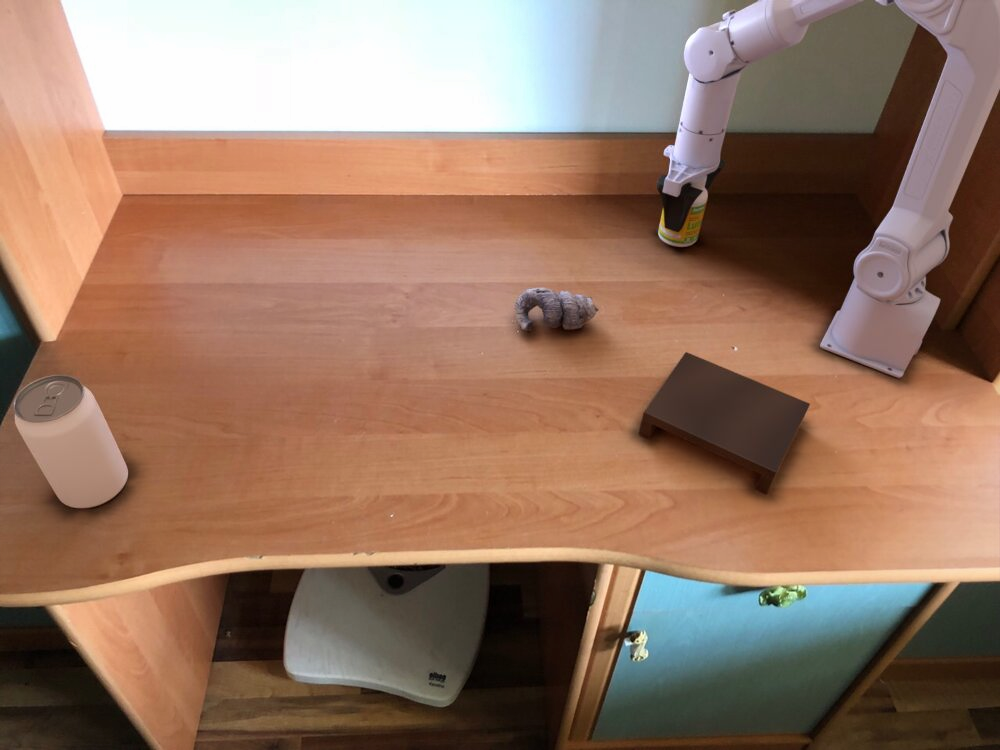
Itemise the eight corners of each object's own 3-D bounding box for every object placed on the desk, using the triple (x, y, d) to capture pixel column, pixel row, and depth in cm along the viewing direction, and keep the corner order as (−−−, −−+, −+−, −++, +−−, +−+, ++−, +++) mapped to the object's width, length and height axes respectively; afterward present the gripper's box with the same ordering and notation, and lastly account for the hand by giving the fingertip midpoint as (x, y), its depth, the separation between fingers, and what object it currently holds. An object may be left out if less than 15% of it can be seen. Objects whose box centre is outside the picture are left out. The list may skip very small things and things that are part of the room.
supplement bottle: (685, 253, 106) (700, 189, 99) (650, 238, 108) (663, 174, 102) (703, 235, 109) (720, 172, 102) (669, 221, 111) (682, 158, 105)
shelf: (800, 425, 85) (810, 403, 83) (766, 494, 78) (776, 472, 76) (679, 374, 90) (685, 351, 88) (638, 434, 83) (643, 411, 81)
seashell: (513, 334, 96) (594, 334, 97) (518, 326, 90) (604, 325, 92) (511, 291, 96) (592, 291, 97) (517, 280, 91) (602, 280, 92)
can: (138, 457, 79) (99, 370, 70) (117, 510, 74) (74, 425, 66) (71, 457, 78) (24, 370, 70) (46, 511, 74) (-7, 425, 65)
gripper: (695, 94, 103) (675, 186, 113) (648, 138, 94) (631, 233, 104) (747, 108, 101) (722, 201, 110) (704, 155, 92) (681, 252, 101)
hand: (681, 218), depth 107 cm, fingers closed on supplement bottle, 5 cm apart
